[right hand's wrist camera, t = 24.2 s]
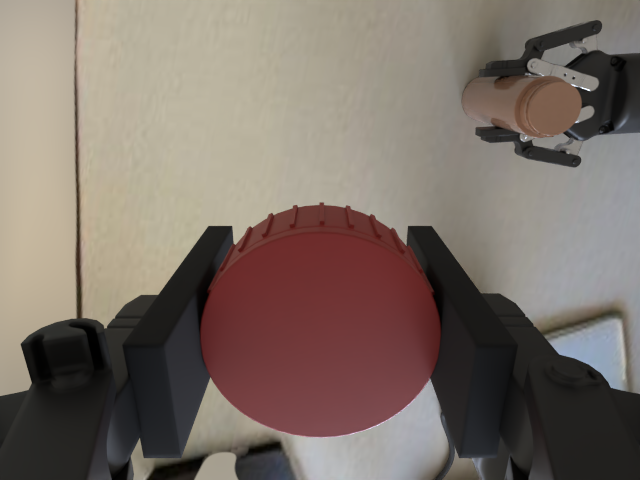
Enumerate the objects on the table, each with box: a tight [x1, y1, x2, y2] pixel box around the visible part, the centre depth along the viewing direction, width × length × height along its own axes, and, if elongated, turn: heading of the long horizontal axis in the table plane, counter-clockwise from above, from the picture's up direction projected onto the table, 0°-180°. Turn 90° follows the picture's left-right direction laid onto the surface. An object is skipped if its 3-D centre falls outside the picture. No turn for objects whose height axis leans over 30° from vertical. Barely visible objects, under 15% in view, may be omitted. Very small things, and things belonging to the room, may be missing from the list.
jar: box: [462, 75, 582, 138], centre depth 42 cm, size 5×5×16 cm
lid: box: [200, 203, 441, 438], centre depth 11 cm, size 6×6×2 cm
